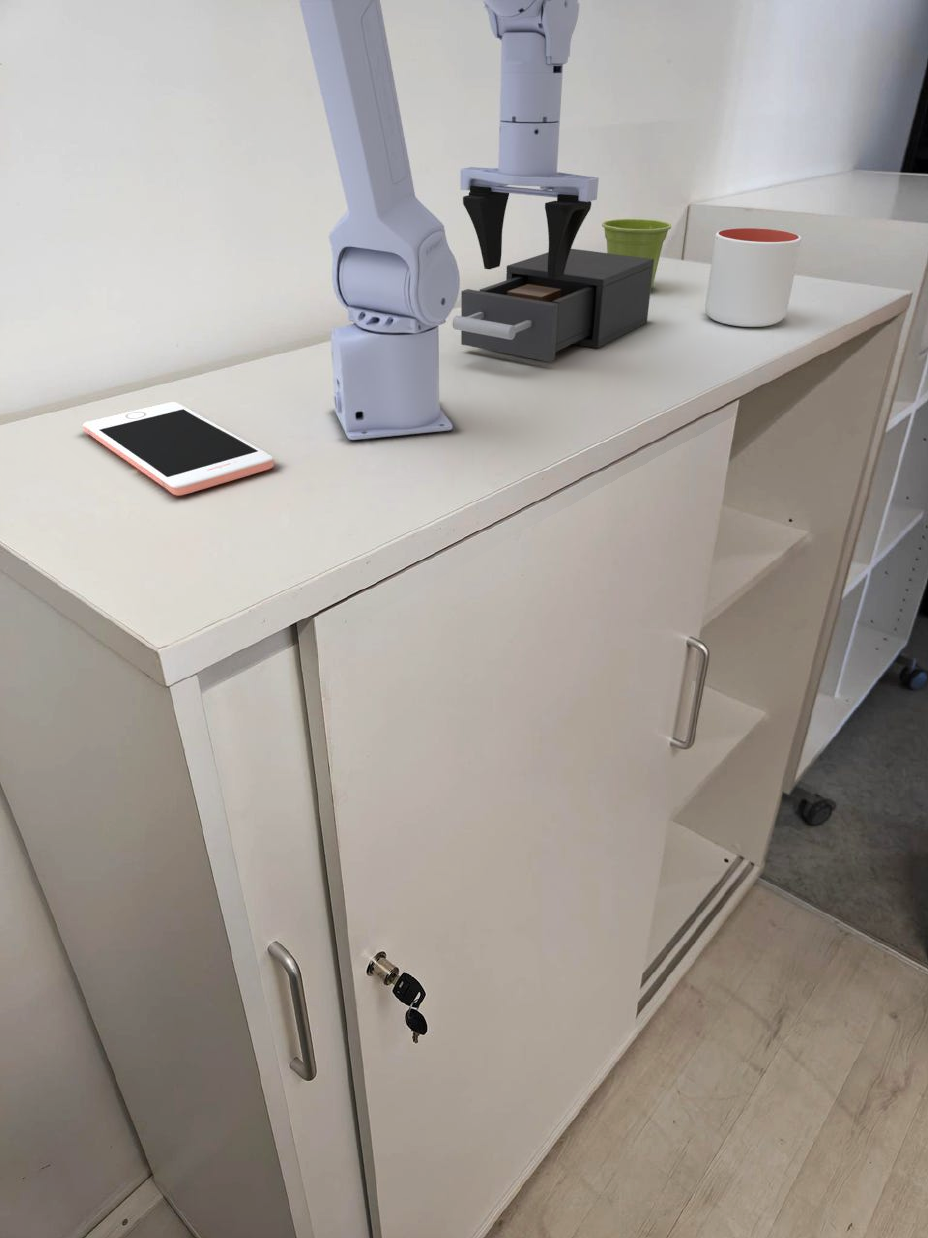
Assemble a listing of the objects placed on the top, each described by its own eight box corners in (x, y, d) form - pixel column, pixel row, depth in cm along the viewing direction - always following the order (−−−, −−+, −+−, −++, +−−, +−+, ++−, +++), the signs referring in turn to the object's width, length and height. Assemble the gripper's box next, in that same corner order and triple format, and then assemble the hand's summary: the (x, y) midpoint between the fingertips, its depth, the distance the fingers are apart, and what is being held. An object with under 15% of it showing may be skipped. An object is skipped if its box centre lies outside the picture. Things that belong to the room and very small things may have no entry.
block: (539, 337, 98) (541, 296, 96) (505, 331, 100) (507, 291, 98) (558, 329, 101) (561, 288, 99) (525, 323, 103) (527, 283, 101)
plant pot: (586, 284, 129) (591, 219, 124) (644, 280, 131) (651, 216, 127) (614, 298, 121) (620, 230, 117) (675, 294, 124) (684, 227, 119)
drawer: (526, 373, 91) (528, 315, 88) (435, 354, 96) (435, 299, 93) (602, 335, 103) (607, 283, 100) (518, 320, 108) (520, 270, 105)
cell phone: (176, 410, 84) (174, 400, 83) (277, 467, 72) (275, 457, 72) (83, 432, 79) (81, 422, 78) (176, 498, 67) (174, 486, 67)
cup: (788, 331, 108) (806, 244, 102) (704, 327, 109) (717, 240, 104) (780, 311, 116) (796, 229, 111) (702, 307, 118) (714, 226, 112)
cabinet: (597, 348, 102) (603, 279, 97) (504, 331, 107) (506, 265, 103) (647, 323, 111) (654, 258, 107) (558, 308, 117) (562, 247, 113)
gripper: (617, 122, 83) (604, 274, 91) (487, 115, 90) (485, 257, 97) (582, 126, 78) (571, 286, 86) (448, 119, 85) (448, 268, 92)
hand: (523, 272), depth 91 cm, fingers open, 7 cm apart
